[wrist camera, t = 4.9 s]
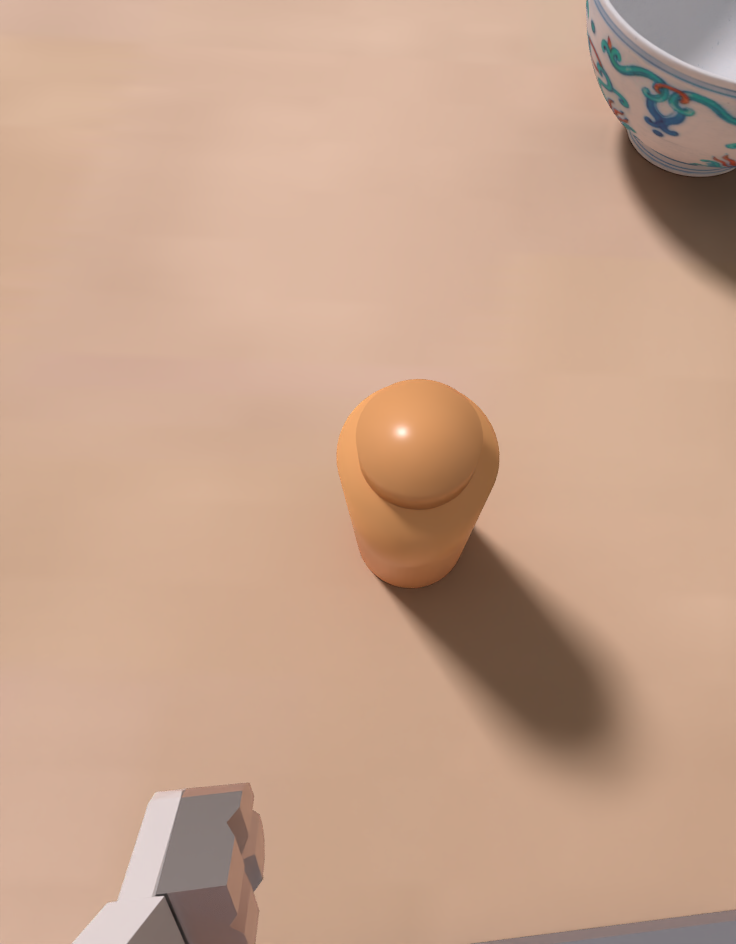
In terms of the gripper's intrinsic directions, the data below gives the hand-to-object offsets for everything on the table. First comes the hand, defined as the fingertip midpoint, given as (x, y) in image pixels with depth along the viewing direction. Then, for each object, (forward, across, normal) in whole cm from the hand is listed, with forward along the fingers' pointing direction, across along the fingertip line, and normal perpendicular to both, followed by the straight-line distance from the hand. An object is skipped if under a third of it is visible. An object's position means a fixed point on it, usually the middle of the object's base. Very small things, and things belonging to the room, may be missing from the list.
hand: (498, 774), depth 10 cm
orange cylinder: (+14, 0, +4) cm, 15 cm away
